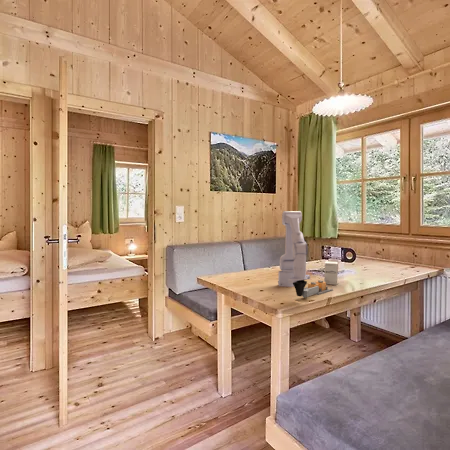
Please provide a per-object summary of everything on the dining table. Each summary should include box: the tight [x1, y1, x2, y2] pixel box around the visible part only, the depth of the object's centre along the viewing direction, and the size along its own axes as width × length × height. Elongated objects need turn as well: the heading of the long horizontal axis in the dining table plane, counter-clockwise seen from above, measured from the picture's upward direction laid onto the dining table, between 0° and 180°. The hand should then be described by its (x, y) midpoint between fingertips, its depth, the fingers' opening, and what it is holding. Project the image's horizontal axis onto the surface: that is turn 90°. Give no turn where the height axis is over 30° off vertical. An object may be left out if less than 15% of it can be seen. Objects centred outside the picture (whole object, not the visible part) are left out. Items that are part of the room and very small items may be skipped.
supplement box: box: [323, 261, 339, 286], centre depth 186 cm, size 7×7×13 cm
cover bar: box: [301, 286, 319, 298], centre depth 156 cm, size 13×3×4 cm, turn 130°
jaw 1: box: [307, 281, 319, 289], centre depth 164 cm, size 4×4×5 cm
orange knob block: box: [315, 280, 327, 291], centre depth 168 cm, size 4×4×5 cm
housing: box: [304, 285, 334, 296], centre depth 167 cm, size 14×13×2 cm
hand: (299, 295), depth 150 cm, fingers closed
